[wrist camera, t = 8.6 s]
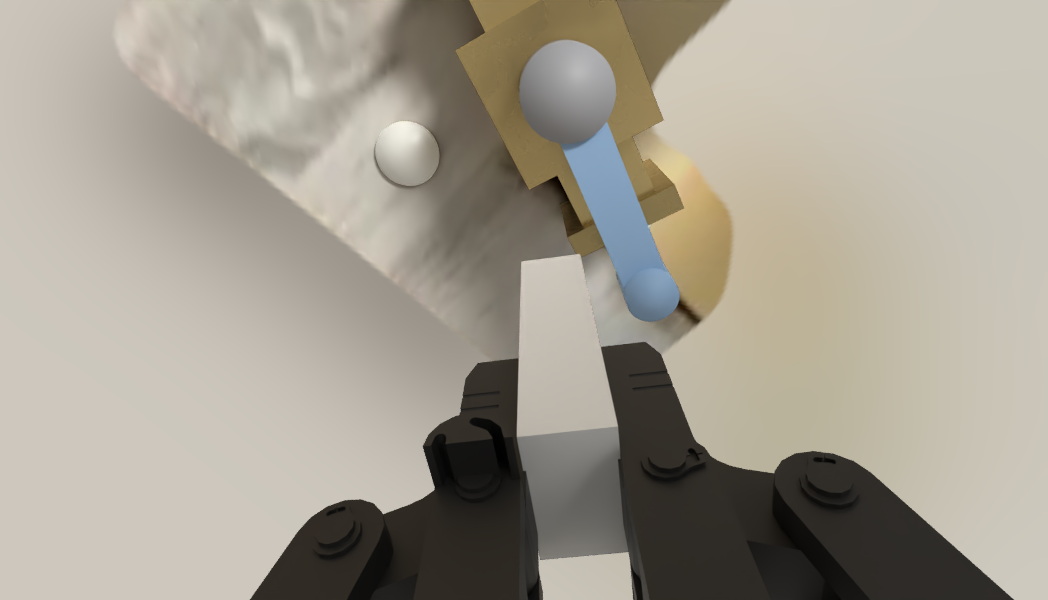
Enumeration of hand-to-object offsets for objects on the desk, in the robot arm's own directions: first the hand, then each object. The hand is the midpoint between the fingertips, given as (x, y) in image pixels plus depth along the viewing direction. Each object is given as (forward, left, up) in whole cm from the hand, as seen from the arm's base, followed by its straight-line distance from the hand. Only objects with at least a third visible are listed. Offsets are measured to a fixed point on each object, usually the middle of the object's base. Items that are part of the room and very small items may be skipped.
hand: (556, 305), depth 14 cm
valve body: (-3, -3, -26) cm, 27 cm away
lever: (-3, +3, -17) cm, 17 cm away
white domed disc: (+8, -3, -26) cm, 28 cm away
